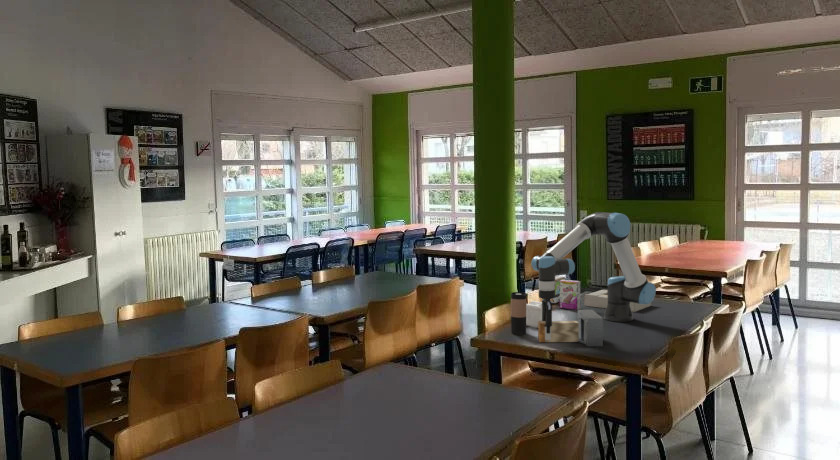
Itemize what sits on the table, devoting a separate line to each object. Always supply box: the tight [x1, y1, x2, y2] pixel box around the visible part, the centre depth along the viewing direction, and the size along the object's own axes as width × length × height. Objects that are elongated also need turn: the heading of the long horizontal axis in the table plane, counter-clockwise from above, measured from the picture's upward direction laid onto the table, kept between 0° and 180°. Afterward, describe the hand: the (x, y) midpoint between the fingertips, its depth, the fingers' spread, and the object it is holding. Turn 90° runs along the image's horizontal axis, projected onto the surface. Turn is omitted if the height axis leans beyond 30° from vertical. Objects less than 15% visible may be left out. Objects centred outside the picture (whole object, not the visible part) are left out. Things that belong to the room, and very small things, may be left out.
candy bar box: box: [558, 279, 581, 311], centre depth 403 cm, size 11×5×16 cm, turn 58°
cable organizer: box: [526, 300, 542, 329], centre depth 360 cm, size 15×11×12 cm
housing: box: [577, 309, 604, 347], centre depth 325 cm, size 7×20×13 cm, turn 0°
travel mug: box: [510, 291, 527, 336], centre depth 343 cm, size 8×8×20 cm
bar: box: [537, 320, 580, 343], centre depth 326 cm, size 18×5×9 cm, turn 89°
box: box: [583, 289, 652, 313], centre depth 410 cm, size 23×8×32 cm
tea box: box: [551, 275, 566, 304], centre depth 428 cm, size 15×10×15 cm
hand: (546, 338), depth 326 cm, fingers closed on bar, 5 cm apart
